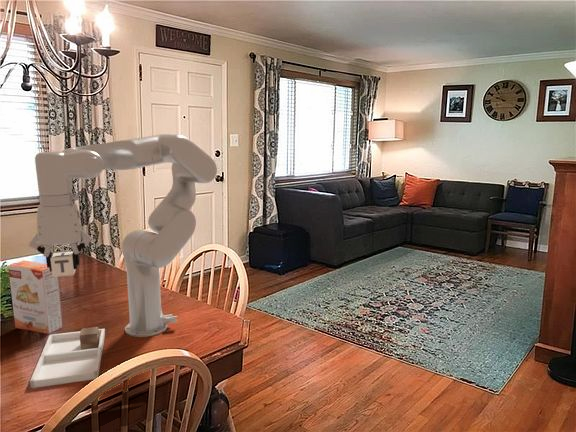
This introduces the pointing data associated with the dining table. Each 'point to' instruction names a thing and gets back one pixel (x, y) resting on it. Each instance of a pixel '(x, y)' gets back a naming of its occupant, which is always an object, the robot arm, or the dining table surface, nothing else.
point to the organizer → (67, 360)
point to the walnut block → (89, 338)
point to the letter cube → (62, 264)
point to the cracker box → (35, 297)
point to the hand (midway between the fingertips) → (64, 268)
